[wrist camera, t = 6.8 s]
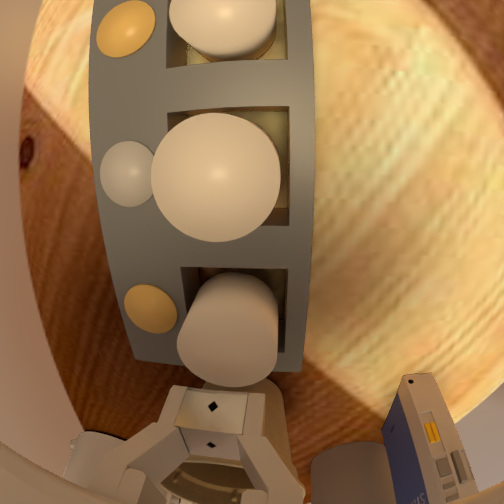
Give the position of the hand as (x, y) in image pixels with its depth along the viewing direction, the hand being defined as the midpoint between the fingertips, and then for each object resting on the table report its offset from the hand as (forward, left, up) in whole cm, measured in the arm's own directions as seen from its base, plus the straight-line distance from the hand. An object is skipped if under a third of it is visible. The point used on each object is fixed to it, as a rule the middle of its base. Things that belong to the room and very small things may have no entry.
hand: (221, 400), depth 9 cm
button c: (+13, 0, -9) cm, 16 cm away
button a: (-1, 0, -6) cm, 6 cm away
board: (+6, +2, -9) cm, 11 cm away
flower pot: (-11, +1, -9) cm, 14 cm away
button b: (+6, 0, -6) cm, 9 cm away
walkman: (-13, -13, -9) cm, 20 cm away
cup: (-23, -10, -9) cm, 26 cm away
